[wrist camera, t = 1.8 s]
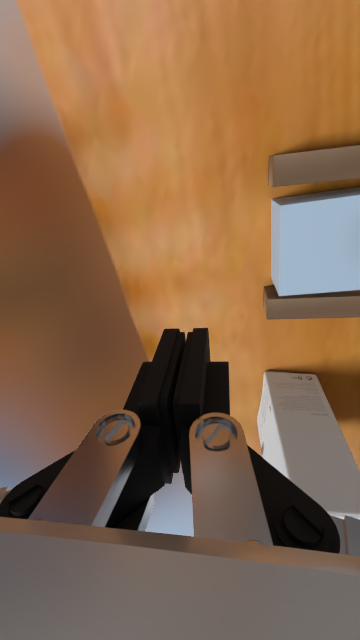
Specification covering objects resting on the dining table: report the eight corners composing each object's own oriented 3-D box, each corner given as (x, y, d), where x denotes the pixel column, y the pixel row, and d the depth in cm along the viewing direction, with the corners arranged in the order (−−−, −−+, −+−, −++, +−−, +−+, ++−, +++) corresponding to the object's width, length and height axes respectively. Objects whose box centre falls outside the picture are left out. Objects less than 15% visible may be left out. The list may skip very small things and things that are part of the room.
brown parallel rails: (268, 156, 22) (274, 155, 20) (427, 137, 20) (457, 133, 18) (263, 305, 28) (267, 319, 26) (384, 301, 26) (402, 316, 24)
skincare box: (263, 369, 32) (290, 507, 19) (319, 372, 31) (386, 519, 18) (256, 421, 36) (274, 564, 23) (305, 425, 35) (352, 575, 22)
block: (271, 198, 24) (280, 205, 20) (362, 185, 22) (391, 190, 19) (271, 277, 27) (278, 296, 23) (350, 269, 26) (373, 288, 22)
